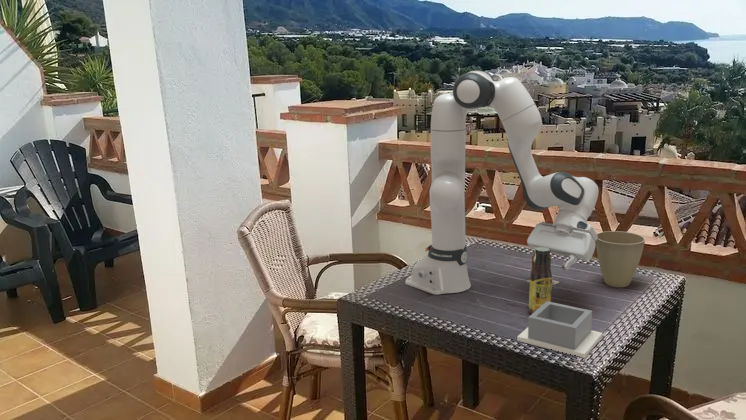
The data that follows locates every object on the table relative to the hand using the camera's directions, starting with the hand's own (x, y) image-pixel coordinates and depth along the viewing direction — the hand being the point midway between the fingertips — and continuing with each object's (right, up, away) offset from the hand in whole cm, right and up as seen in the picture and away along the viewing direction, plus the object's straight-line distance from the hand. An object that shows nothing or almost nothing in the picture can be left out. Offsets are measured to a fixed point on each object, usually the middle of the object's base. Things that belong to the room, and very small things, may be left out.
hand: (550, 265), depth 173 cm
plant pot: (+28, -8, +19) cm, 35 cm away
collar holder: (-2, -18, -16) cm, 24 cm away
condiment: (+5, -8, +24) cm, 26 cm away
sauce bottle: (-3, -14, 0) cm, 15 cm away
